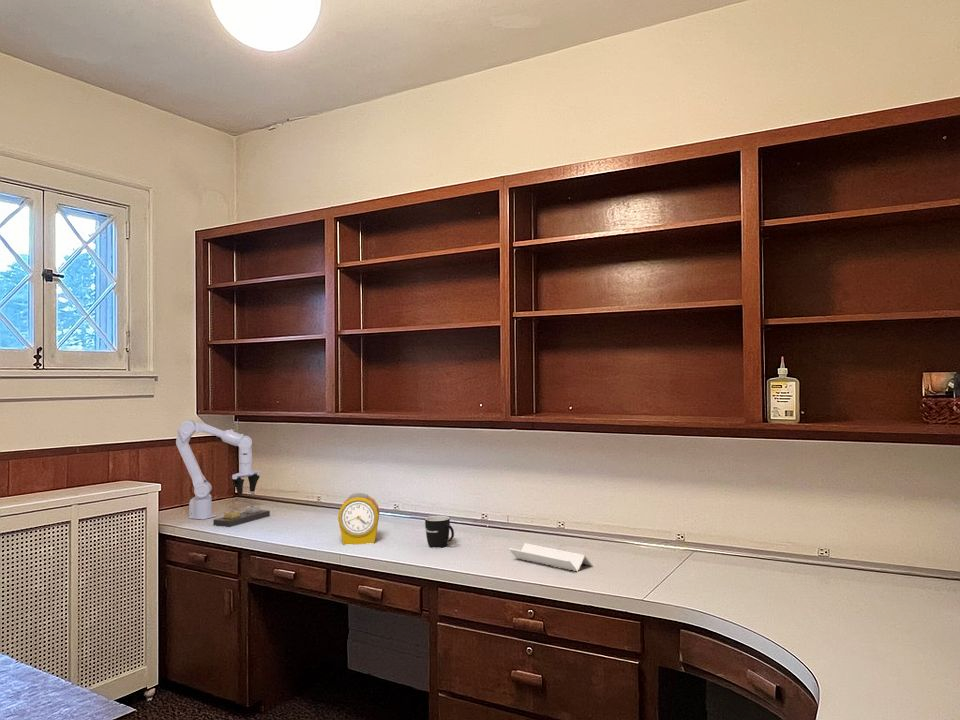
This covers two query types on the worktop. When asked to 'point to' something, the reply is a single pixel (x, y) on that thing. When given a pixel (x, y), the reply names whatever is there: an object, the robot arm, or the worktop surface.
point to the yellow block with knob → (231, 515)
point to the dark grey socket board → (241, 519)
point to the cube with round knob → (252, 509)
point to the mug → (438, 531)
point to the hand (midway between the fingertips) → (246, 492)
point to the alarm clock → (358, 519)
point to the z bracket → (551, 557)
